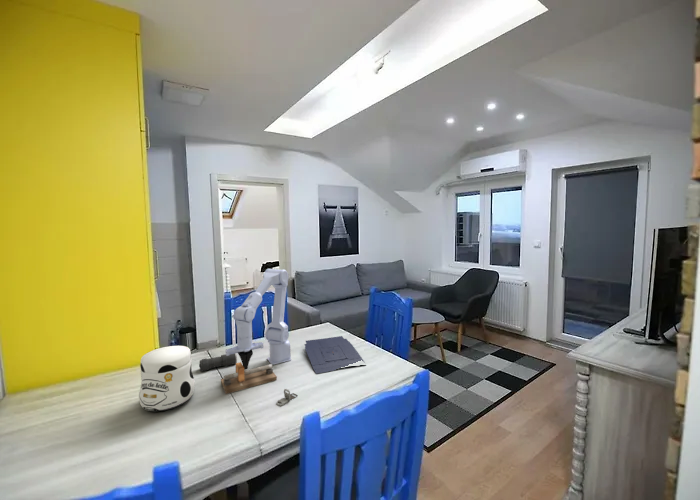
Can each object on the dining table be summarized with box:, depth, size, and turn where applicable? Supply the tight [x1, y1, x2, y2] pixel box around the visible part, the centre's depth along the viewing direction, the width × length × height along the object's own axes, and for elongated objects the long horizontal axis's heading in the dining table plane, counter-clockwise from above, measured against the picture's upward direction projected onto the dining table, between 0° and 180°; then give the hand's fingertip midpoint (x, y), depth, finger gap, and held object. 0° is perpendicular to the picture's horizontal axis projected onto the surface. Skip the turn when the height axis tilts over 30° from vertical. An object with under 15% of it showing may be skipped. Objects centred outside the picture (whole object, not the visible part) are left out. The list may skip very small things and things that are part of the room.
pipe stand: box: [220, 363, 278, 395], centre depth 123 cm, size 20×10×5 cm, turn 123°
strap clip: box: [275, 388, 298, 407], centre depth 110 cm, size 8×3×4 cm, turn 144°
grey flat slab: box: [304, 335, 364, 374], centre depth 147 cm, size 24×30×4 cm
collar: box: [235, 361, 245, 382], centre depth 121 cm, size 2×6×5 cm, turn 32°
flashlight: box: [198, 353, 238, 372], centre depth 136 cm, size 15×5×5 cm, turn 124°
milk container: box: [138, 345, 196, 413], centre depth 108 cm, size 17×17×18 cm
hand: (245, 368), depth 122 cm, fingers closed
